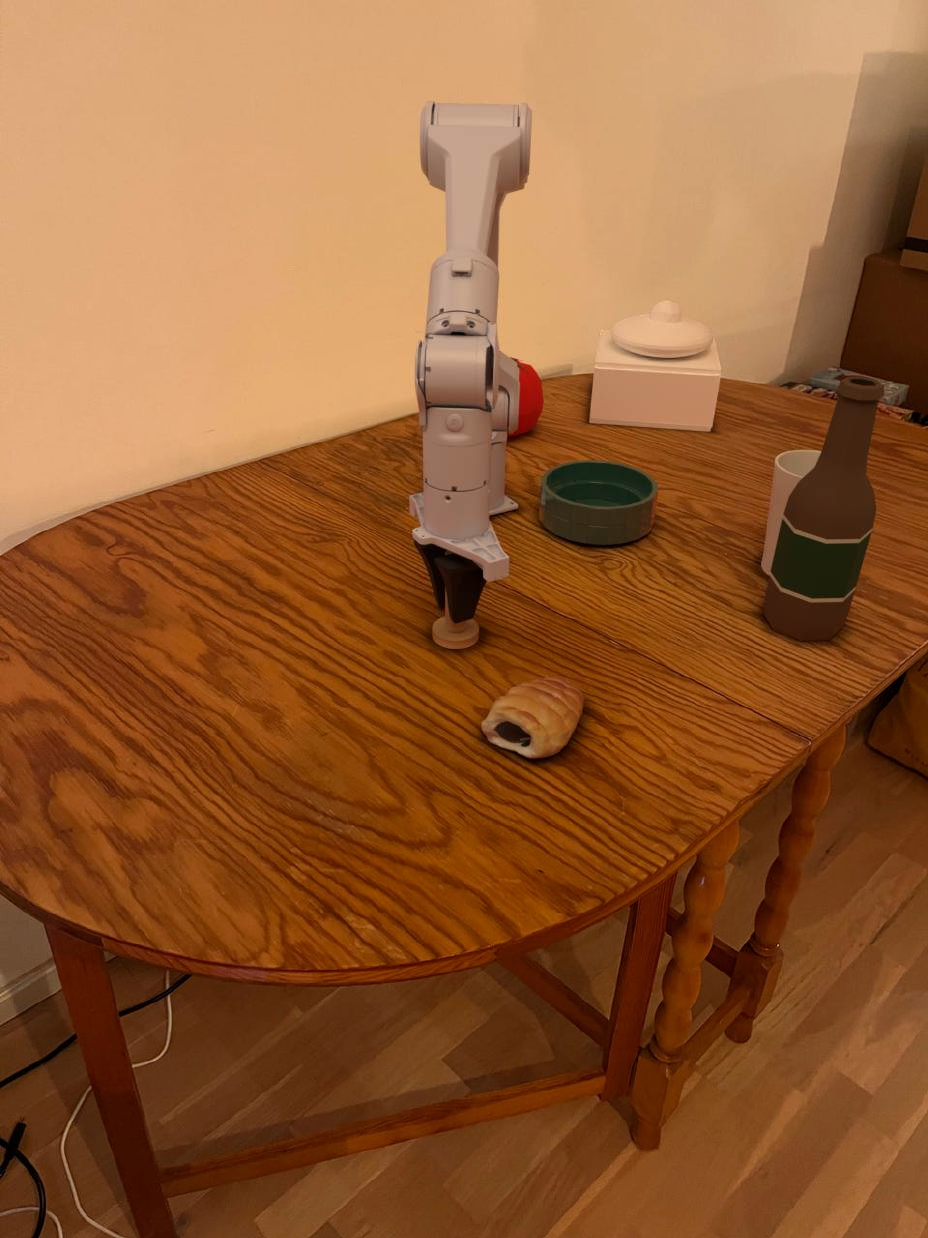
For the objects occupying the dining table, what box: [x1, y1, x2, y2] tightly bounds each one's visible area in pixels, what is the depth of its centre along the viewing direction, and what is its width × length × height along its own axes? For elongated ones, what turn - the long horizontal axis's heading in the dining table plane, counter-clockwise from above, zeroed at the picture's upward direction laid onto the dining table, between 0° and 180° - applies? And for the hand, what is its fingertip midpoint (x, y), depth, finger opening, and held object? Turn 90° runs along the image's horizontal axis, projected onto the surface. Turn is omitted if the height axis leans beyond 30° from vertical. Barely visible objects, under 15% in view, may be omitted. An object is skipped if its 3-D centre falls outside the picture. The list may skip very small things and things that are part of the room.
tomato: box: [507, 356, 545, 438], centre depth 128 cm, size 13×12×11 cm
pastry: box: [480, 675, 585, 759], centre depth 74 cm, size 9×7×4 cm
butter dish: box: [588, 300, 722, 433], centre depth 136 cm, size 18×18×16 cm
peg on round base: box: [431, 550, 480, 650], centre depth 84 cm, size 4×4×9 cm
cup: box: [760, 449, 822, 577], centre depth 95 cm, size 8×8×12 cm
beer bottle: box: [762, 375, 885, 642], centre depth 83 cm, size 8×8×24 cm
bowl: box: [538, 459, 659, 546], centre depth 105 cm, size 13×13×5 cm
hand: (455, 612), depth 85 cm, fingers closed on peg on round base, 2 cm apart
